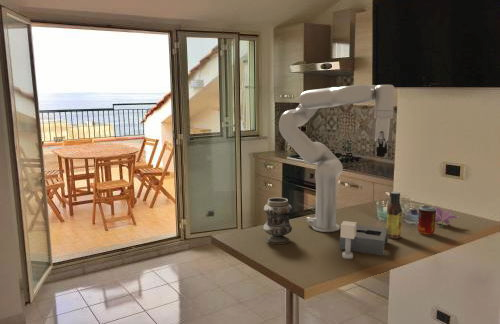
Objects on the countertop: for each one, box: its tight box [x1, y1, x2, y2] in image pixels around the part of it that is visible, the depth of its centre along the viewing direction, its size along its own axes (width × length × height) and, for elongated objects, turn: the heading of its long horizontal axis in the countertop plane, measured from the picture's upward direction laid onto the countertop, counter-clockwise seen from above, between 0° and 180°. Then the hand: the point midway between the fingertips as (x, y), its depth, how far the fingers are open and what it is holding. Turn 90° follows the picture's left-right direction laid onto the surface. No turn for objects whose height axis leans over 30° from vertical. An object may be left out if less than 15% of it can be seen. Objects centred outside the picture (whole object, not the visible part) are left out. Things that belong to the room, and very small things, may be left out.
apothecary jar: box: [263, 197, 293, 245], centre depth 183 cm, size 12×12×18 cm
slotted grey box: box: [339, 224, 389, 256], centre depth 177 cm, size 17×16×6 cm
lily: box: [434, 205, 460, 230], centre depth 202 cm, size 12×12×10 cm
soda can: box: [417, 205, 436, 237], centre depth 191 cm, size 7×7×12 cm
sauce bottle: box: [385, 191, 403, 240], centre depth 187 cm, size 7×6×20 cm
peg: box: [339, 220, 358, 260], centre depth 165 cm, size 5×5×14 cm
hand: (381, 154), depth 184 cm, fingers open, 9 cm apart
